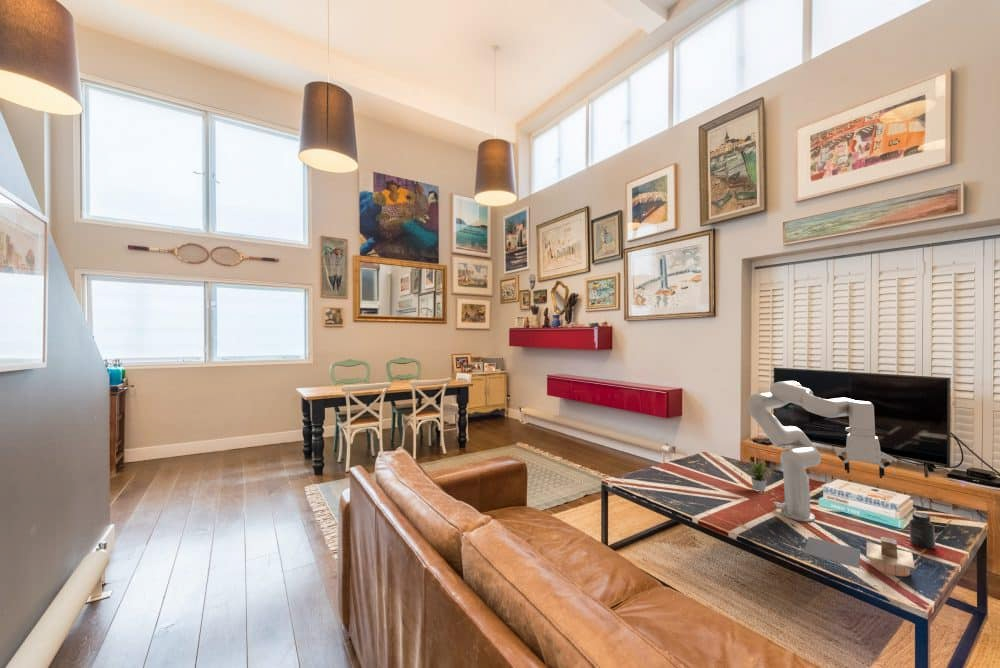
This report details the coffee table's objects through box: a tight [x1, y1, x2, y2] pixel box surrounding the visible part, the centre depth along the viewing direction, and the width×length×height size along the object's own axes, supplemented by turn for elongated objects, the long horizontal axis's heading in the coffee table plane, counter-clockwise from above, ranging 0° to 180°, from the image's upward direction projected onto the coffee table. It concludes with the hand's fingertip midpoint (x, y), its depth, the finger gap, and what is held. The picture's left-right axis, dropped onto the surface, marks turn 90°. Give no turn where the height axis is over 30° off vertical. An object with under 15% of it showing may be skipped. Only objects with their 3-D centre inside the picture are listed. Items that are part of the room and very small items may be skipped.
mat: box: [803, 536, 861, 569], centre depth 154 cm, size 16×16×1 cm
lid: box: [866, 536, 916, 571], centre depth 142 cm, size 12×12×6 cm
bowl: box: [870, 559, 911, 577], centre depth 142 cm, size 10×10×5 cm
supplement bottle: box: [909, 511, 936, 550], centre depth 157 cm, size 7×7×12 cm
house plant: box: [744, 458, 773, 491], centre depth 217 cm, size 14×14×16 cm
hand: (864, 474), depth 159 cm, fingers open, 9 cm apart
